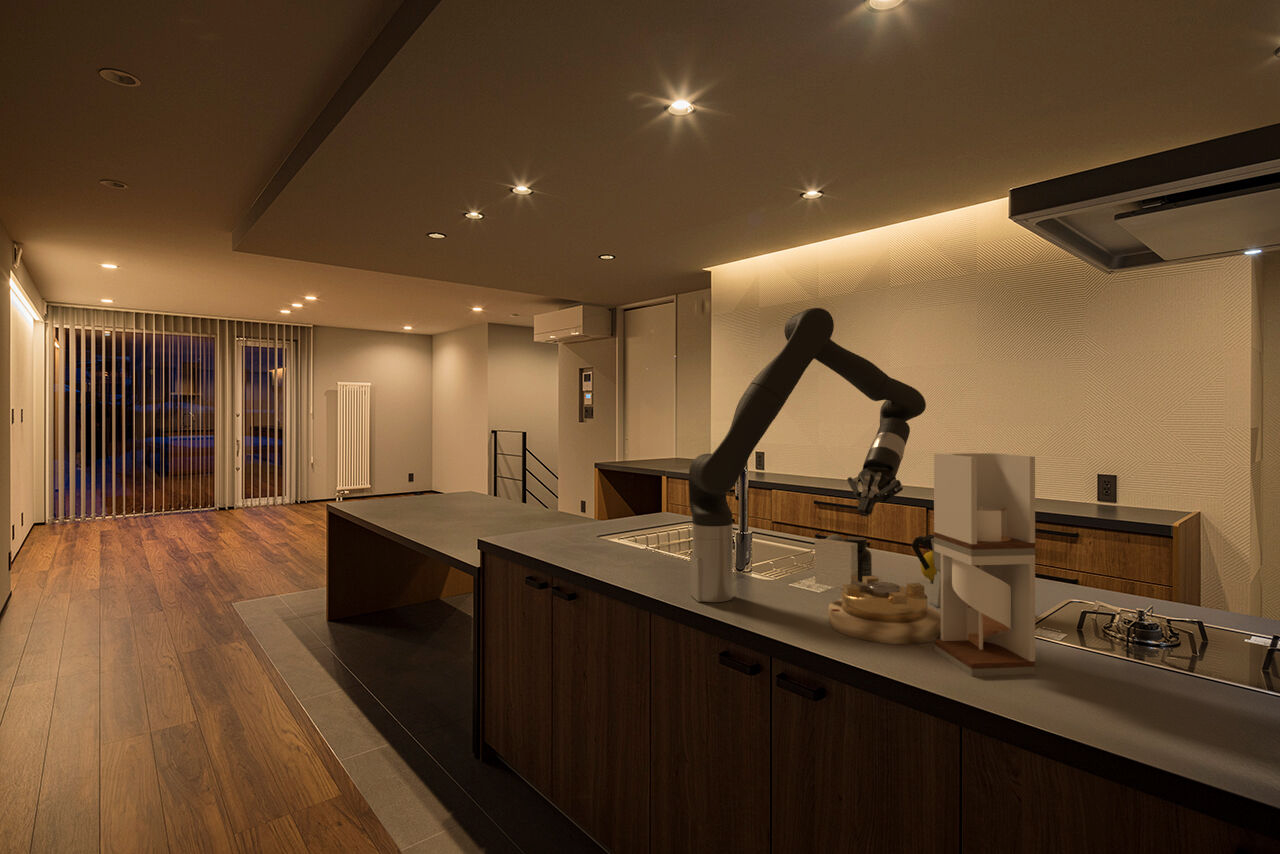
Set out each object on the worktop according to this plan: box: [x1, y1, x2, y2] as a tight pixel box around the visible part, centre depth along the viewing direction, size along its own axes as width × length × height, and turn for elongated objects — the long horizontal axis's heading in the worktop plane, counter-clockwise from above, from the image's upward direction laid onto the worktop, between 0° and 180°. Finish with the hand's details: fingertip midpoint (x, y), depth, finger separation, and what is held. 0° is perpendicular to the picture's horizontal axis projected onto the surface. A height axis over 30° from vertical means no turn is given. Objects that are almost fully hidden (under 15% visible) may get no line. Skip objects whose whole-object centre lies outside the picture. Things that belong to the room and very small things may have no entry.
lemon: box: [920, 550, 937, 583], centre depth 164 cm, size 6×6×8 cm
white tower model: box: [933, 452, 1036, 677], centre depth 110 cm, size 11×11×35 cm
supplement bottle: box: [845, 536, 873, 582], centre depth 160 cm, size 7×7×12 cm
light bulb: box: [825, 534, 846, 542], centre depth 176 cm, size 6×6×10 cm
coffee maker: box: [911, 534, 941, 609], centre depth 144 cm, size 15×9×18 cm, turn 47°
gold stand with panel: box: [814, 538, 928, 622], centre depth 132 cm, size 22×16×12 cm
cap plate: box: [828, 598, 941, 645], centre depth 130 cm, size 21×21×3 cm
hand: (863, 514), depth 145 cm, fingers closed
